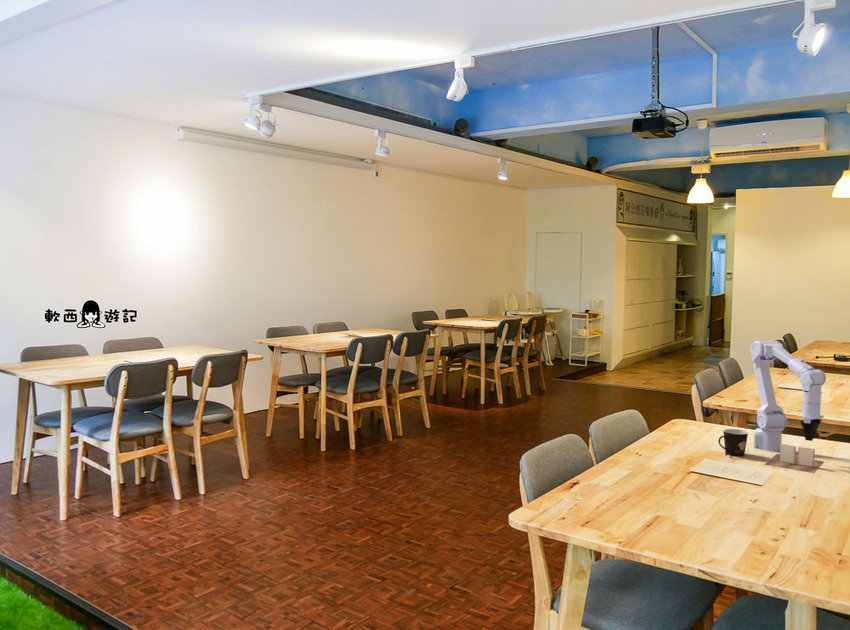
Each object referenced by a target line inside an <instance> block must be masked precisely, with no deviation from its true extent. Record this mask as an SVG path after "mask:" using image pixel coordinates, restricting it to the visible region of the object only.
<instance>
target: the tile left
mask: <svg viewBox="0 0 850 630" xmlns="http://www.w3.org/2000/svg"><path fill="white" fill-rule="evenodd" d="M779 454H780V462H782V463H788V464H794V465H795V464H796V457H797V445H792V444H791V445H790V444H784V443H781V444H780V451H779Z"/></svg>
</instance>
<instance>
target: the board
mask: <svg viewBox="0 0 850 630" xmlns="http://www.w3.org/2000/svg"><path fill="white" fill-rule="evenodd" d="M824 462H825V460H818V459H814V467H813V468H812V467H806V466H800V465H798V456H796V464H795V465H794V464H788V463H782V462H780V453H775V455H774V456H772V457H771V458H770V459H769V460H768V461H767V462H765V463H764V464H763V465H764V466H770V467H771V466H772V467H776V468H781V469H787V470H794V471H798V472H799V471H800V472H806V473H811V474H815V472H817V470H819V468H820V467H821V466H822V465H823V464H824Z"/></svg>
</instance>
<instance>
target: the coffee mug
mask: <svg viewBox="0 0 850 630" xmlns="http://www.w3.org/2000/svg"><path fill="white" fill-rule="evenodd" d="M748 435H749V432H748V431H746V430H742V429H737V428H726V429H723V435H721V436H720V437H718V441H717V442H718V444H719V446H720V447H721V448H722V449H724V453H725V457H727V456H731V457H737V458H738V457H744V456H745V453H746V447H747V440H748ZM721 439H723V441H724V446H723V445H722V443H721Z"/></svg>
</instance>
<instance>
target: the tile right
mask: <svg viewBox="0 0 850 630" xmlns="http://www.w3.org/2000/svg"><path fill="white" fill-rule="evenodd" d="M797 449H798V451H797V457H798V465H800V466H806V467H812V468H813V467H814V460H815V459H816V458H815V456H816V455H815V454H816V449H815V448H811V447H804V446H798V448H797Z"/></svg>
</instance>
